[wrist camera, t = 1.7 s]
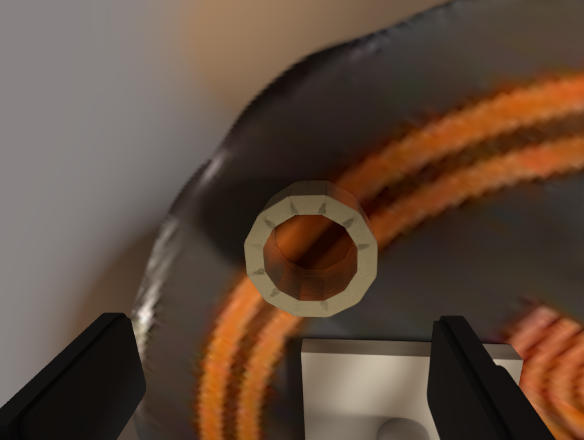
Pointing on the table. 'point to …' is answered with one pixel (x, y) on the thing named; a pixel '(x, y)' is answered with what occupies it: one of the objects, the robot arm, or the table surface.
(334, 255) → the table surface
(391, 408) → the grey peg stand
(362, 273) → the brass ring
